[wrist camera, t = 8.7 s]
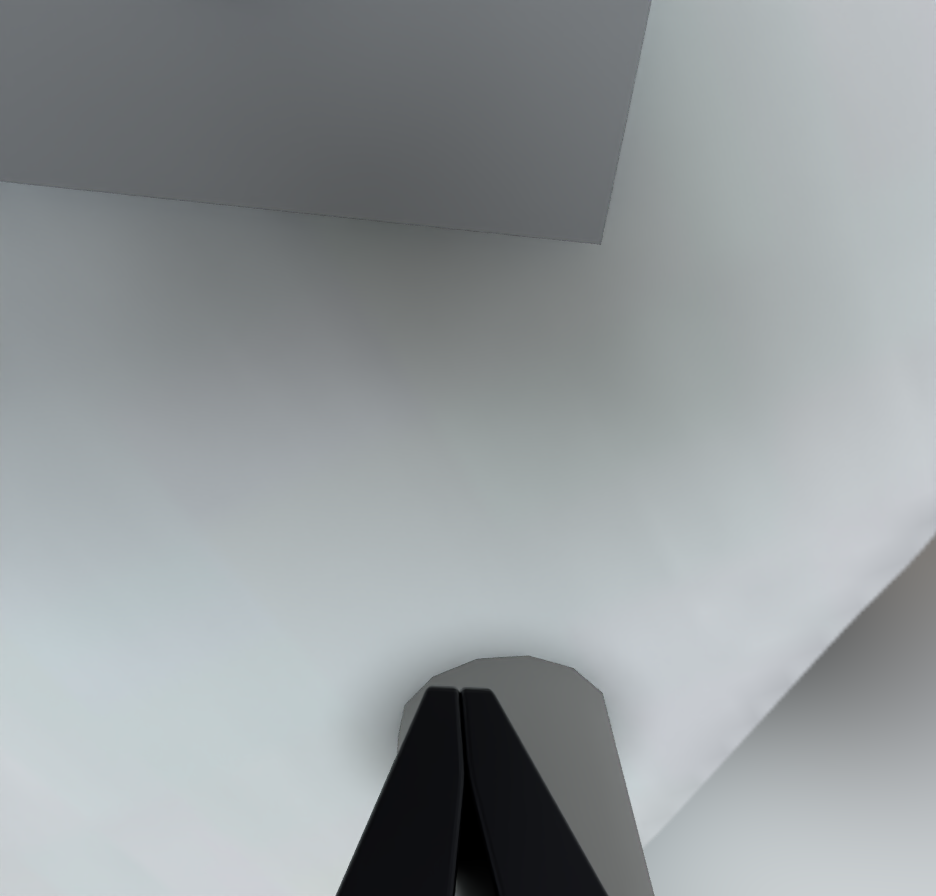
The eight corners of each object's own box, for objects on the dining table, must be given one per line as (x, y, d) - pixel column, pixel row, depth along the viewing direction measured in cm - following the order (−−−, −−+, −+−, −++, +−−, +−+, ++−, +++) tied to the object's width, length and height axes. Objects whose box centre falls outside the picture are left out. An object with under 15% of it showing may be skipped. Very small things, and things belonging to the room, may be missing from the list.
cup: (370, 682, 26) (340, 1002, 17) (587, 634, 25) (667, 944, 17) (434, 810, 30) (435, 1118, 22) (622, 772, 29) (700, 1076, 21)
